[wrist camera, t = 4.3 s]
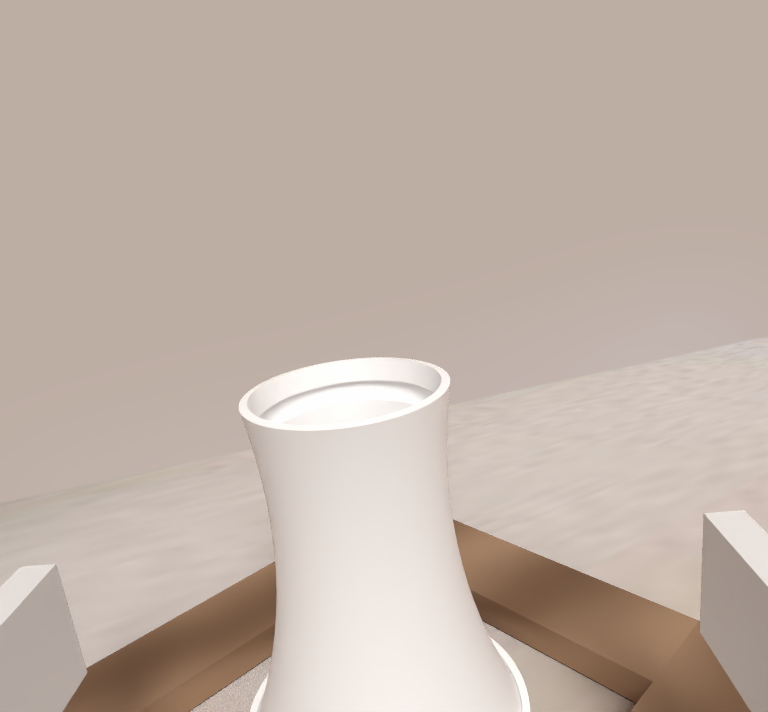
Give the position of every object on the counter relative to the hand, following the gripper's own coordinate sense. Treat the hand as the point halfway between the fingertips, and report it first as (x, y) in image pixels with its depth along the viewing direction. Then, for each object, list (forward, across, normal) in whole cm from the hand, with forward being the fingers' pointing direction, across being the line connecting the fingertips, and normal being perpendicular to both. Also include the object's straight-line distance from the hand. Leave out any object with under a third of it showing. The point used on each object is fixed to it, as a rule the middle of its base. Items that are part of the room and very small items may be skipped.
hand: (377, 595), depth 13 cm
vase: (+3, 0, -7) cm, 7 cm away
